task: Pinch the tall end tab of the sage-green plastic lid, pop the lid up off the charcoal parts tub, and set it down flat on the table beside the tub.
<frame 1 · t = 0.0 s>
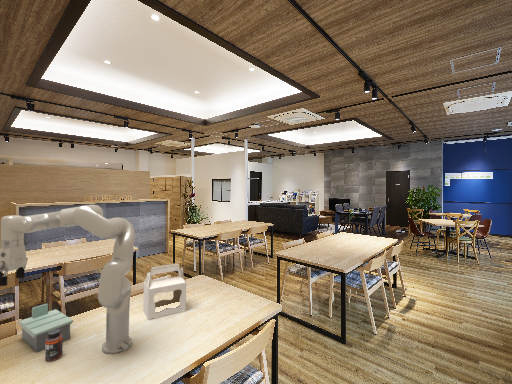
hand: (11, 281, 115), 31 cm above the table, tool pointing down, fingers open, 9 cm apart
lid: (46, 325, 125), point 7 cm above the table, touching tub
tub: (46, 339, 125), on the table
supplement bottle: (53, 357, 112), on the table
gable box: (164, 311, 156), on the table
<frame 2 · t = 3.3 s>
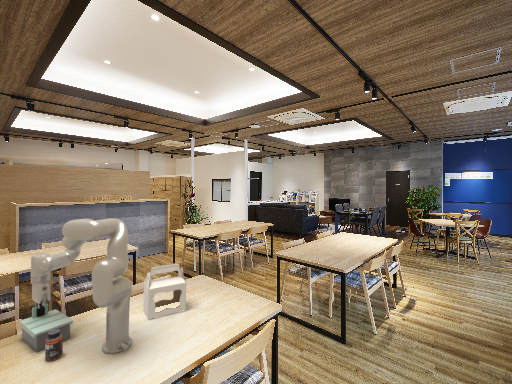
hand: (40, 315, 129), 9 cm above the table, tool pointing down, fingers closed on lid
lid: (46, 325, 125), point 7 cm above the table, touching gripper, tub
everything else where it was.
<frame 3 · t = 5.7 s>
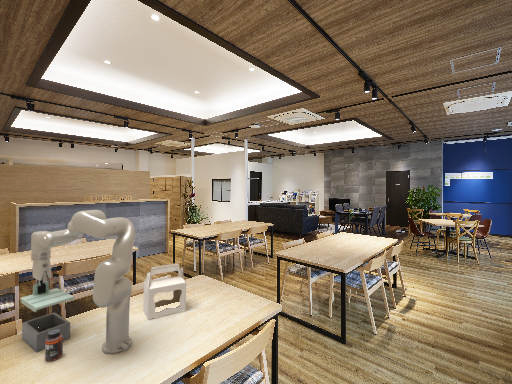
hand: (41, 292, 129), 21 cm above the table, tool pointing down, fingers closed on lid
lid: (47, 301, 125), point 18 cm above the table, touching gripper
everything else where it was.
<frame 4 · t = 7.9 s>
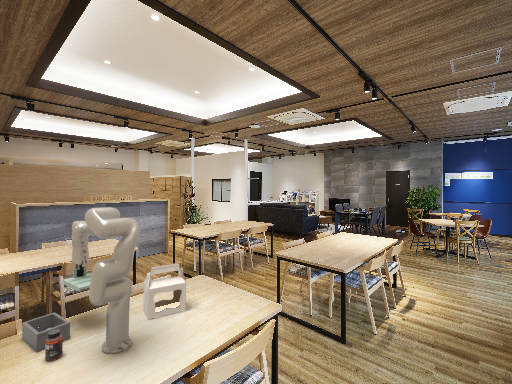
hand: (79, 275, 144), 24 cm above the table, tool pointing down, fingers closed on lid
lid: (86, 283, 139), point 22 cm above the table, touching gripper
everything else where it was.
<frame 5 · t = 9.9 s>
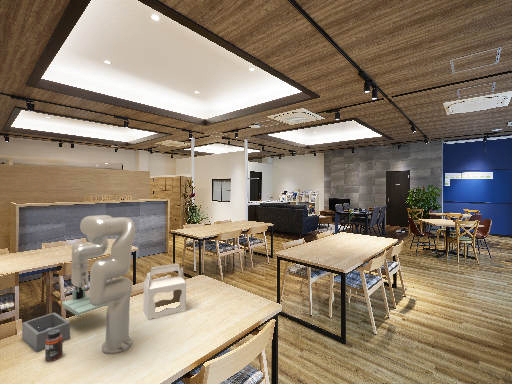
hand: (78, 297, 144), 12 cm above the table, tool pointing down, fingers closed on lid
lid: (85, 306, 140), point 9 cm above the table, touching gripper
everything else where it was.
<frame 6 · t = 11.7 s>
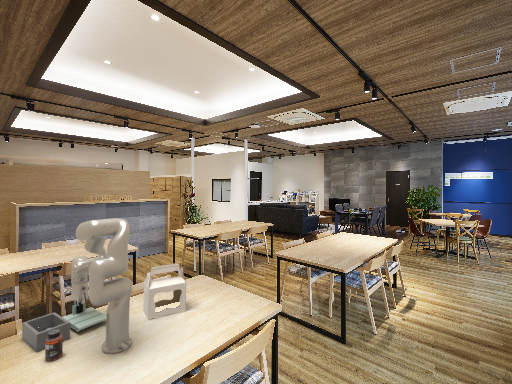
hand: (78, 312, 144), 4 cm above the table, tool pointing down, fingers closed on lid
lid: (85, 320, 139), point 1 cm above the table, touching gripper
everything else where it was.
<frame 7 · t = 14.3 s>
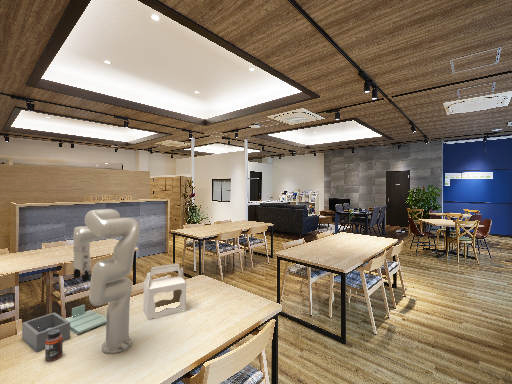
hand: (81, 279, 144), 22 cm above the table, tool pointing down, fingers open, 9 cm apart
lid: (85, 323, 140), on the table
everything else where it was.
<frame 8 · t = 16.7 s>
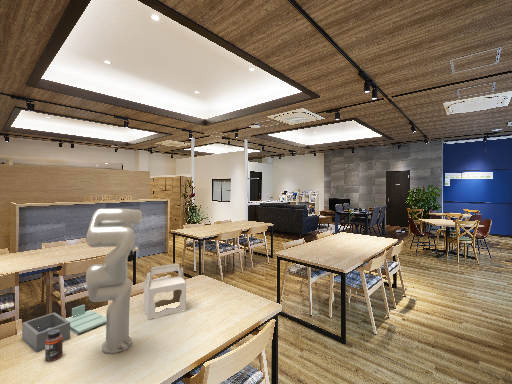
hand: (125, 259, 149), 32 cm above the table, tool pointing down, fingers open, 9 cm apart
nothing on the table moved.
at the end: lid touching table; lid inside the target area (0.4 cm from its centre), on the table; lid tilted 0° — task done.
